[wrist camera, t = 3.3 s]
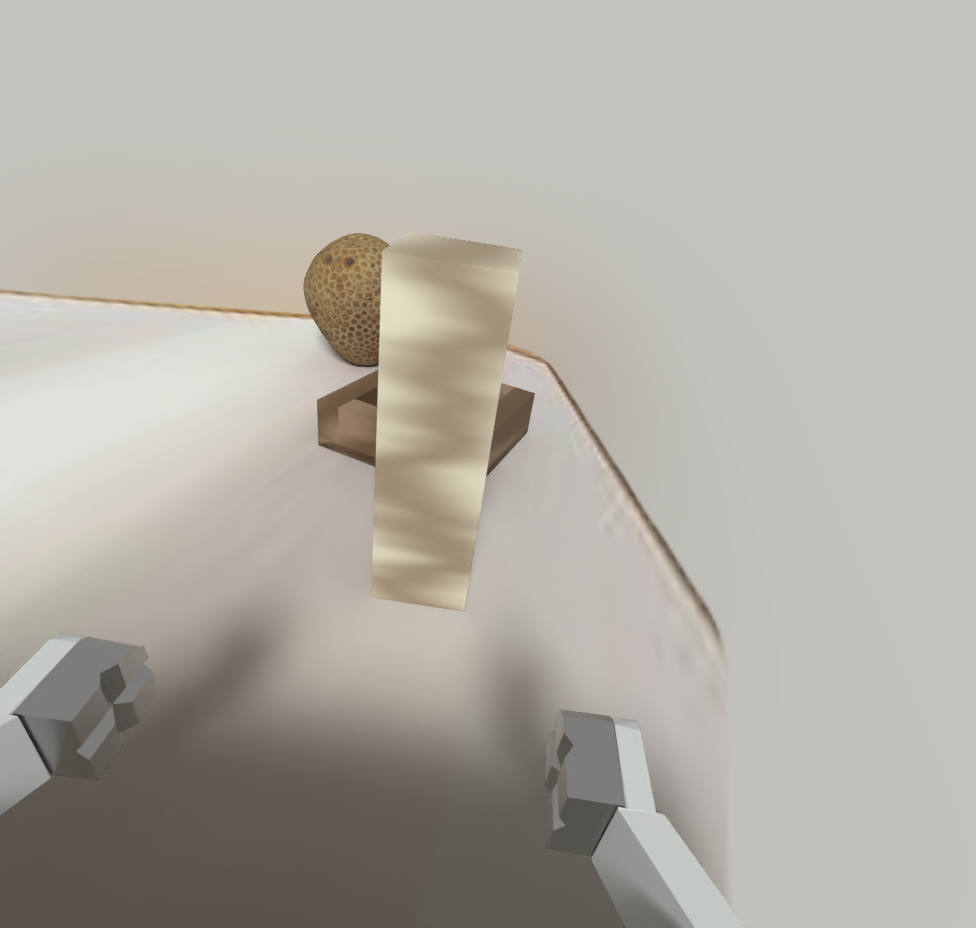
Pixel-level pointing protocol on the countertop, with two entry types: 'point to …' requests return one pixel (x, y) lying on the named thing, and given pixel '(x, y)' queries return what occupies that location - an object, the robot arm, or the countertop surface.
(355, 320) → the natural sponge
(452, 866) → the countertop surface
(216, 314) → the countertop surface
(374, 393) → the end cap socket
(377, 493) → the beige tall block
